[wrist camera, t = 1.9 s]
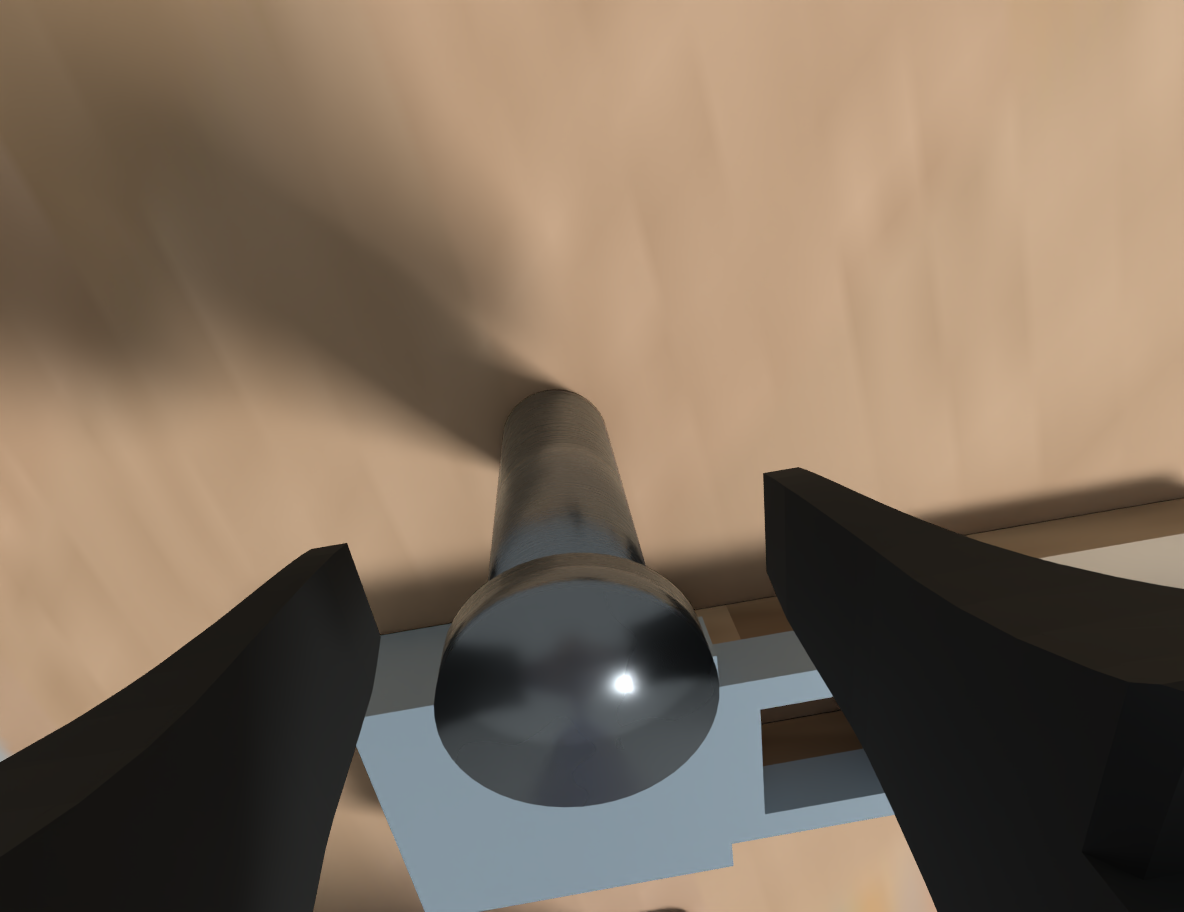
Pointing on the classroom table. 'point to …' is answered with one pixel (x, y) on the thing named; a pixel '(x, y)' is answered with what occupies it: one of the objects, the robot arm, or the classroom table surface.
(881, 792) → the hinge leaf
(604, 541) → the hinge pin
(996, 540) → the hinge leaf
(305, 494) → the classroom table surface
